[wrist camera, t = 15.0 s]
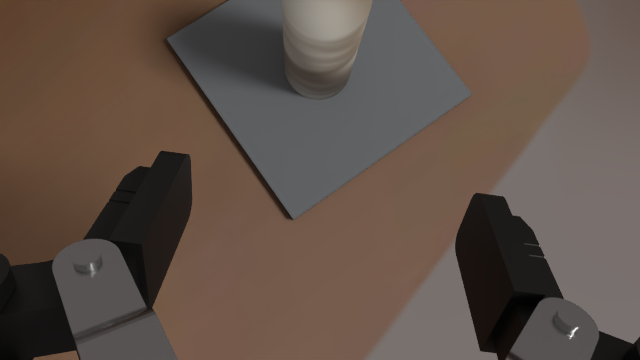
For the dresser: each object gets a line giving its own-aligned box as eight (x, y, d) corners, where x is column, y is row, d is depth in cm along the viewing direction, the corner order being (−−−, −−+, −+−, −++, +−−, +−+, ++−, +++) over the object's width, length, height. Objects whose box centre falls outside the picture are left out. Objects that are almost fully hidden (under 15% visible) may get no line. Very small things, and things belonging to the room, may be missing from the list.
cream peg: (309, 112, 34) (316, 53, 24) (271, 59, 35) (263, -19, 25) (363, 76, 35) (390, 5, 25) (325, 25, 35) (337, -65, 25)
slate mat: (293, 220, 33) (293, 219, 33) (168, 42, 35) (166, 38, 34) (468, 96, 36) (472, 93, 35) (343, -66, 37) (344, -71, 37)
